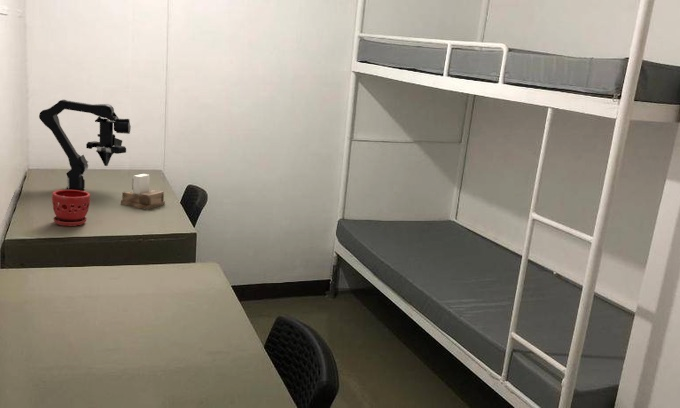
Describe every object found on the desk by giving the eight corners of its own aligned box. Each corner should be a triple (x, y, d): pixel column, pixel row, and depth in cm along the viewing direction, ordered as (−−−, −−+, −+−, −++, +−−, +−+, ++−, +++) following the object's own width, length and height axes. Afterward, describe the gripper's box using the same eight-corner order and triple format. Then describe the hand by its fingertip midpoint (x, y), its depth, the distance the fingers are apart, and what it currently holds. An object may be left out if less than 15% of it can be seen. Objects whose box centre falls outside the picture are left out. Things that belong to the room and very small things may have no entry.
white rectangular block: (131, 199, 273) (131, 175, 270) (140, 197, 278) (141, 173, 276) (139, 201, 271) (139, 177, 268) (149, 199, 277) (149, 174, 274)
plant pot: (73, 230, 230) (73, 198, 227) (44, 223, 234) (44, 192, 231) (97, 222, 242) (97, 192, 239) (69, 216, 246) (69, 187, 243)
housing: (120, 203, 272) (121, 190, 270) (139, 199, 282) (139, 186, 281) (146, 209, 267) (147, 195, 265) (164, 204, 277) (165, 191, 276)
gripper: (134, 133, 288) (134, 166, 292) (103, 128, 295) (103, 160, 298) (117, 135, 278) (117, 169, 282) (85, 130, 285) (85, 163, 288)
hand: (106, 165), depth 288 cm, fingers closed
